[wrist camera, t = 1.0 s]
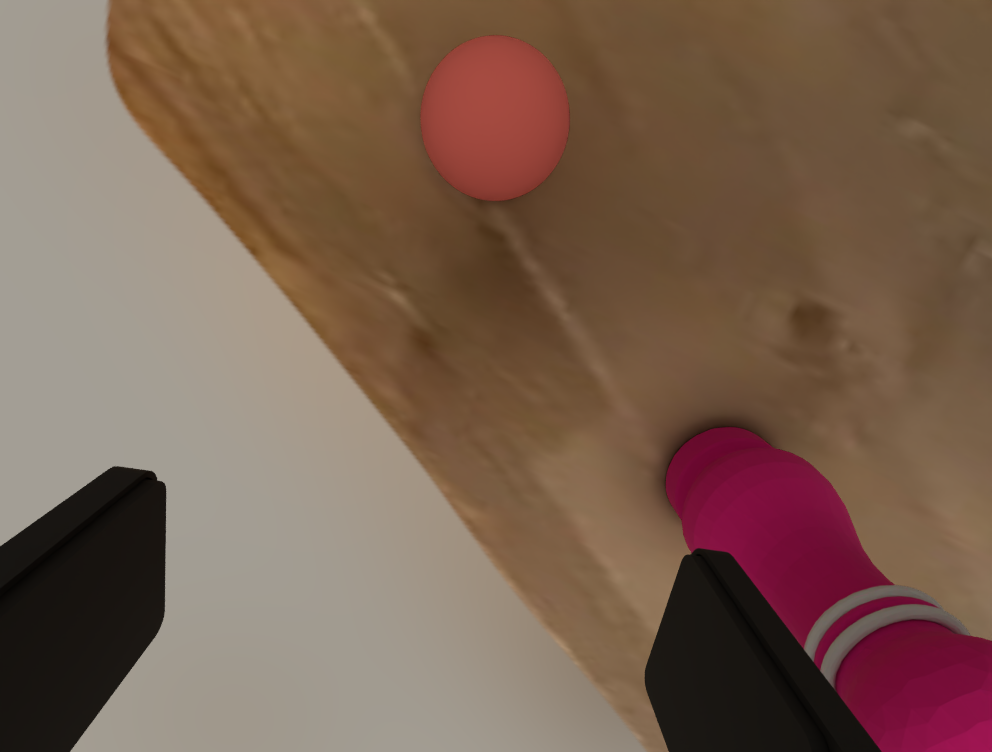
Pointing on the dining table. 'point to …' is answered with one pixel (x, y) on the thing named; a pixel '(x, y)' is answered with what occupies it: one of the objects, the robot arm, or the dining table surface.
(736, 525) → the pepper mill
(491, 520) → the dining table surface
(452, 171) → the ball
